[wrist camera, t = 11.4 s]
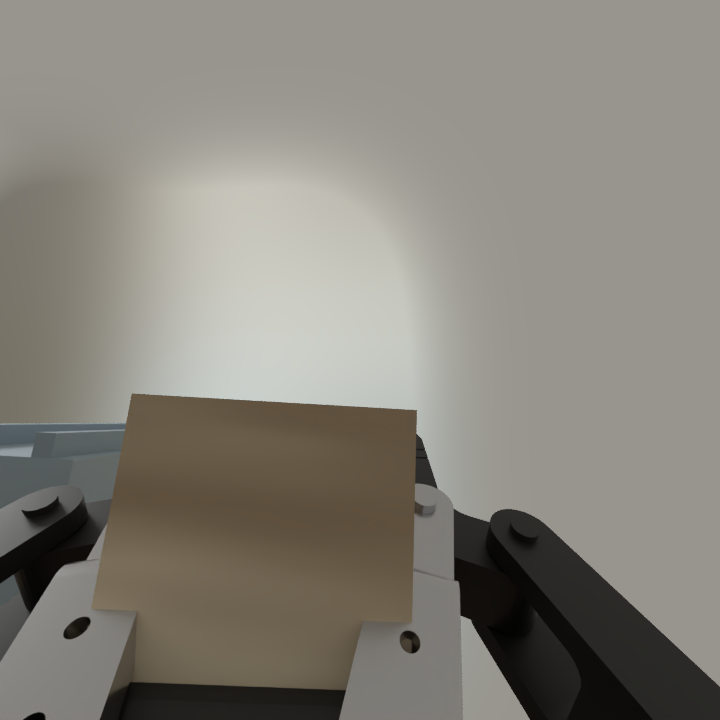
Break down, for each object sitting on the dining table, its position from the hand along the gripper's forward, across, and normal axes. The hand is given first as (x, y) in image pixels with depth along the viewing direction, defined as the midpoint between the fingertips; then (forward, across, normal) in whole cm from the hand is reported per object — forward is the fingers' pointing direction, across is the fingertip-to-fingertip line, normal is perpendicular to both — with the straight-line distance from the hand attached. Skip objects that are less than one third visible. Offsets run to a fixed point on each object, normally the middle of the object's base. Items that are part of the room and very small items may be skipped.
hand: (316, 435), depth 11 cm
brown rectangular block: (+4, 0, +6) cm, 7 cm away
